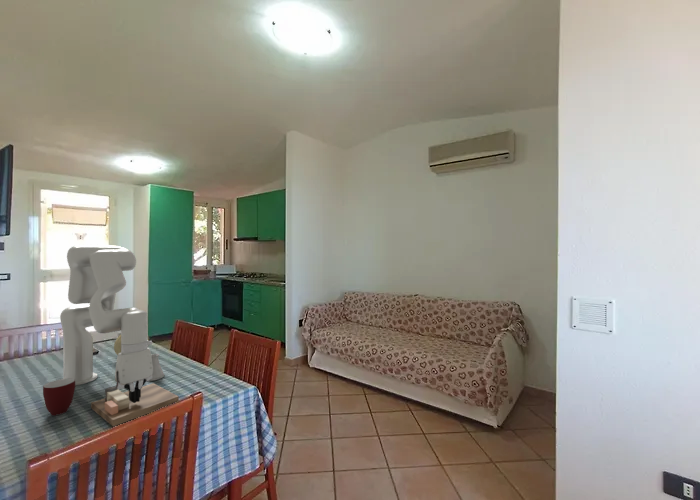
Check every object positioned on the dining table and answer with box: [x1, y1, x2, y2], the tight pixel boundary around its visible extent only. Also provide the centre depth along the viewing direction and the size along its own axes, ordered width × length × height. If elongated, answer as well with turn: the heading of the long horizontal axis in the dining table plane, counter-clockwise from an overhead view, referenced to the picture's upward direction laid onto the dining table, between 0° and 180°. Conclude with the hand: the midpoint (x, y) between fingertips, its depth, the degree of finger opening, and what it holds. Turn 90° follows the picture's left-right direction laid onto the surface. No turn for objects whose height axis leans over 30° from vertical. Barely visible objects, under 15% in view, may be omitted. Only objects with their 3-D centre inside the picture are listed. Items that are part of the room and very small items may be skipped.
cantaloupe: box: [113, 334, 150, 356], centre depth 164 cm, size 15×15×15 cm
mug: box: [42, 378, 76, 416], centre depth 109 cm, size 10×8×10 cm
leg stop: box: [105, 401, 118, 415], centre depth 105 cm, size 6×2×2 cm, turn 54°
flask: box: [148, 353, 165, 382], centre depth 138 cm, size 7×7×10 cm
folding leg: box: [104, 386, 129, 411], centre depth 110 cm, size 14×4×4 cm, turn 52°
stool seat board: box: [90, 383, 180, 427], centre depth 114 cm, size 20×20×2 cm
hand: (134, 401), depth 109 cm, fingers closed
